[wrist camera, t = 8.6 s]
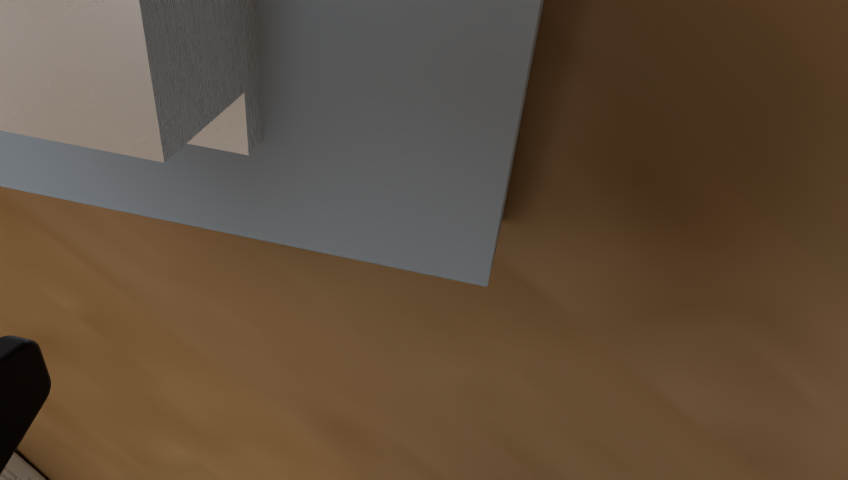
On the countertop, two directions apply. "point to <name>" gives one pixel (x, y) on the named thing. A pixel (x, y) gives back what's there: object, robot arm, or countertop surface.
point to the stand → (342, 138)
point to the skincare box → (19, 470)
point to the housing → (132, 74)
